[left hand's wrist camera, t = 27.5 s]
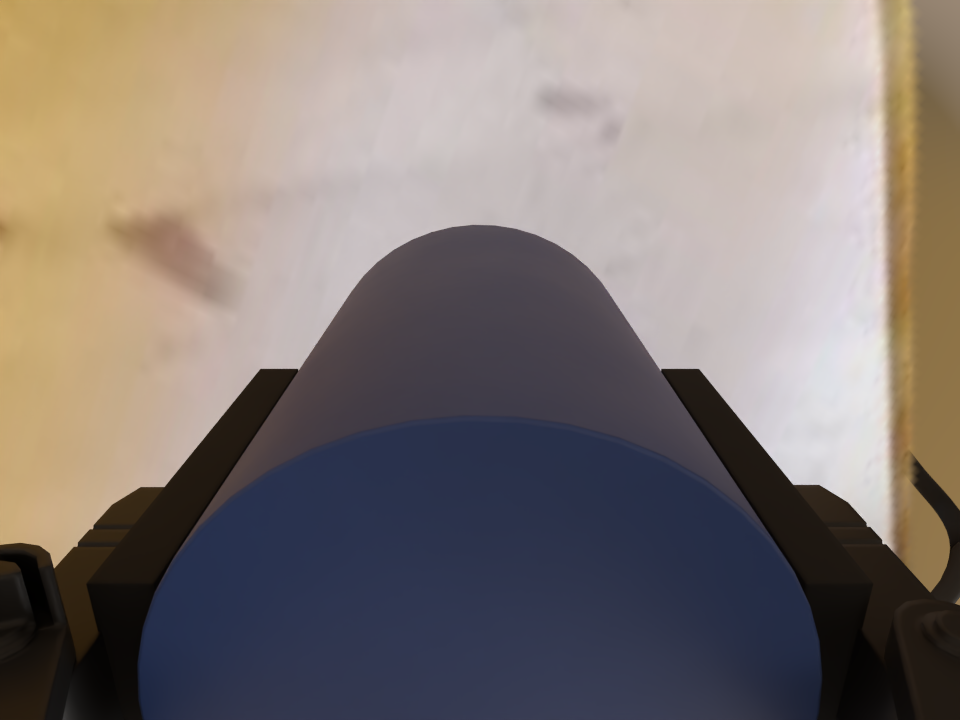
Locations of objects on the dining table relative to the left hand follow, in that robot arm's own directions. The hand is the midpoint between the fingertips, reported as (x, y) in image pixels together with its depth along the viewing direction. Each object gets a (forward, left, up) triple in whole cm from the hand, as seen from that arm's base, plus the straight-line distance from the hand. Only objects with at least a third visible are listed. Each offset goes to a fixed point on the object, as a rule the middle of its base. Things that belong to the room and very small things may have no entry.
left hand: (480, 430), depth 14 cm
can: (0, 0, -3) cm, 3 cm away
